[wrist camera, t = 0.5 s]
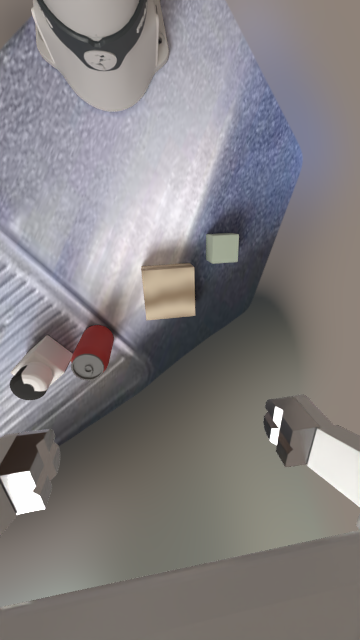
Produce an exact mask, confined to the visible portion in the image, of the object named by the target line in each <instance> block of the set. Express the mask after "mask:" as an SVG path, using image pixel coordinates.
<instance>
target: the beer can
mask: <svg viewBox="0 0 360 640" xmlns="http://www.w3.org/2000/svg"><path fill="white" fill-rule="evenodd" d="M113 341H114V337H113V334H112V332H111V331H110V330H109V329H108V328H106V327H105V326H101V325H94V326H90V327H89V328H87V329H86V330H85V331H84V333H83V335H82V337H81V339H80V341H79V343H78V345H77V347H76V349H75V351H74V353H73V355H72V358H71V363H72V365H71V368H72V371H73V373H74V374H75V375H76V376H77V377H78V378H80V379H83V380H94V379H97V378H98V377H100V376H101V375H102V374H103V372H104V371H105V370H106V368H107V366H108V363H109V359H110V354H111V350H112V346H113Z"/></svg>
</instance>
